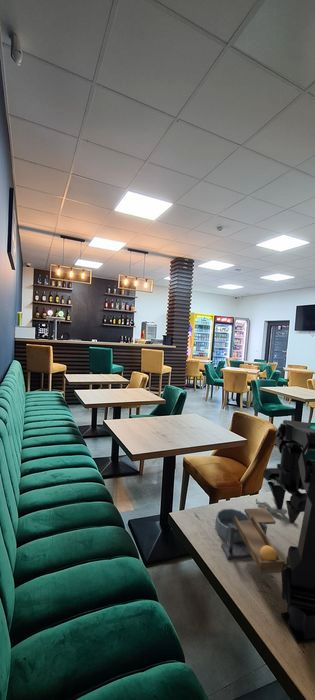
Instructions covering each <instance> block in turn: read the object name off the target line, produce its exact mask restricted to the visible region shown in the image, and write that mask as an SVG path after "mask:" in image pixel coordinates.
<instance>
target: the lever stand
mask: <svg viewBox="0 0 315 700" xmlns="http://www.w3.org/2000/svg"><path fill="white" fill-rule="evenodd" d="M260 527H261V528H262V530H263V531H264V533H265V534H266V535H267V530H268V526H267V524H265V523H264V522H260ZM234 530H235V528H234V526H233V524H232V523H229V526H228V536H227V540H226V542H222V543H221V544H220V545H221V546H220V547H221V549H222V551H223V553H224V556H225V557H226V559H227V560H238V559H253V558H252V556H251V554H250V552H249V550H248V548H247V546H246V545H245V543H244V542H237V543H233V541H234Z"/></svg>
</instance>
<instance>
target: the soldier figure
mask: <svg viewBox="0 0 315 700" xmlns="http://www.w3.org/2000/svg"><path fill="white" fill-rule="evenodd" d="M271 499H272V501H273V503H274V505H275V506H272V505H270V504H269V503H268V502H267V501H259V500H258V498H255V505H257V508H259V507H260V508H266V509H267V510H268V512H269V513H270V514H281V515H286V514H288V510H287V508H285V507H284V506H282V509H281V510H278V508H277V505H276V502H275V500H274V497H271Z"/></svg>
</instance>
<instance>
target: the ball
mask: <svg viewBox="0 0 315 700" xmlns="http://www.w3.org/2000/svg"><path fill="white" fill-rule="evenodd" d="M275 550H276V549H275ZM275 550H274V549H273V548H272V547H271V546H268V545H266V546H263V547H262V548H261V550H260V557H261V559H262V560H263V561H266V560H276V558H277V556H276V552H275Z"/></svg>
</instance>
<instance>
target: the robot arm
mask: <svg viewBox="0 0 315 700" xmlns="http://www.w3.org/2000/svg"><path fill="white" fill-rule="evenodd" d="M274 441H275V445H276V447H277V449H278V452H279V453H280V454H281V455H280V463H277V464H276V467H273V468H272V467H270V468H269V467H268V468H267V467H266V468H265V469H264V470H263V475H262V477H263V478H264V479H265V480H266V481H267V485H268V486H269V489H270V492H271V495H272V498H274V500H275V502H276V505H277V508H278V510H281V509H282V507H284V502H285V504H286V510H287V514H288V520H289V523H290V524H295V522H296V520H297V519H298V518H299V516H300V514H301V513H303V518H302V523H301V527H300V528H301V529H300V533H299V538H298V544H297V546H292V545H290V546H289V547H288V548H287V549H288V551H287V556H286V558H285V559H286V560H285V563H284V566H283V569H282V570H281V572H280V573H281V595H280V596H281V599H282V600H283V601H284V602H285V604H286V607H287V608H286V611H285V612H280V616H281V618H282V620H283V622H284V623H285V625H286V628H288V631H289V632H290V634H291V635H292V637H293V640H294V641H295V642H296V643H298V644H304V643H312V642H315V459H306V454H307V452H308V451H315V430H313V429H311V426H310V424H308V422H304V421H296V420H289V419H283V421H282V423H279V426H278V427H277V430H276V431H275V440H274ZM302 446H303V447H302ZM300 490H301V491H303V490H304V491H305V492H301V491H300ZM286 492H287V493H288V494H290V495H291V496H290V499H289V500H286V501H285V495H286Z"/></svg>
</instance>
